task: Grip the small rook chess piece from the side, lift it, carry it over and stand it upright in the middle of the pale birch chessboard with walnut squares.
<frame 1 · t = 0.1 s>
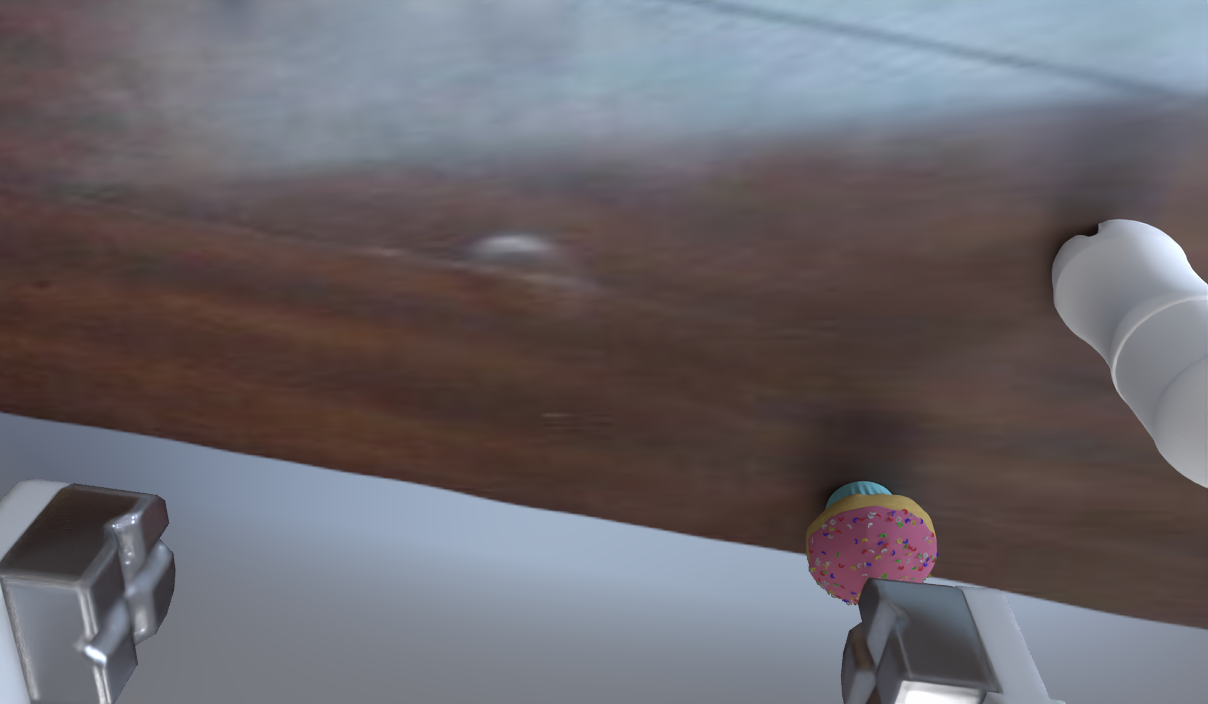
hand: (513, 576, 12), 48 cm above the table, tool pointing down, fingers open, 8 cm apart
water bottle: (1099, 261, 61), on the table
cupcake: (858, 504, 71), on the table
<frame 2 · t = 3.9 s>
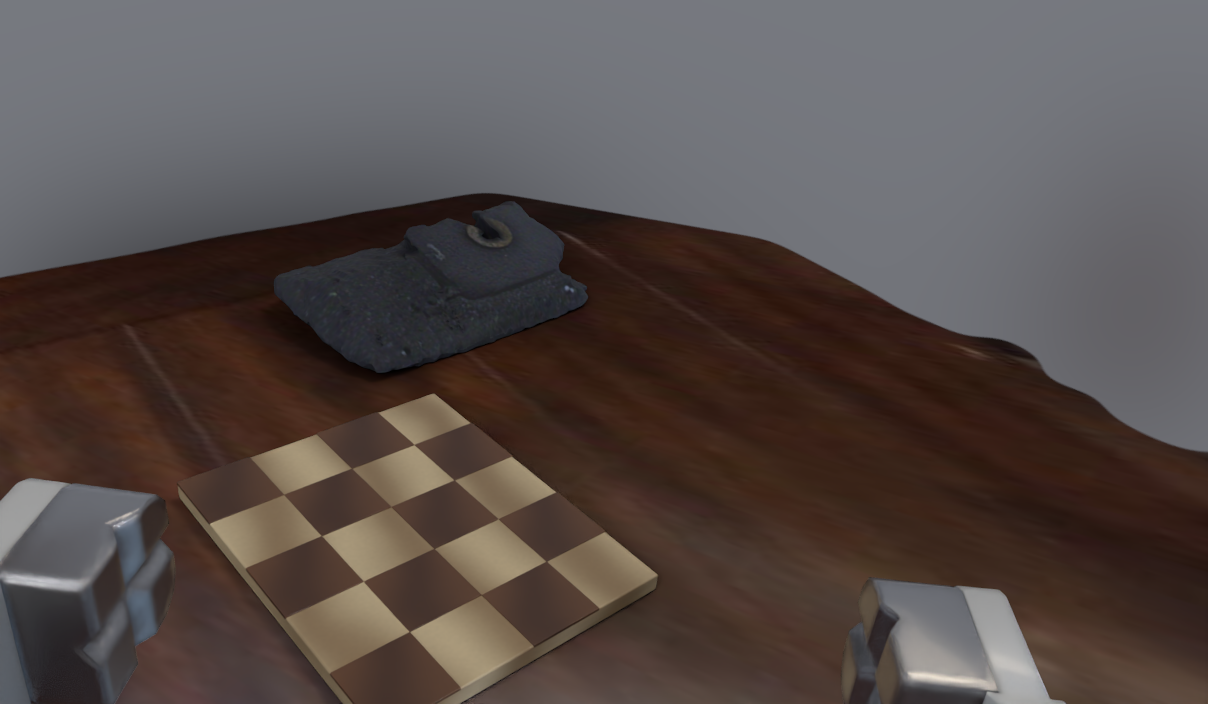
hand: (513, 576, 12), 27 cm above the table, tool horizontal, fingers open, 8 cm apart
chessboard: (412, 542, 53), on the table
dark slate chunk: (433, 301, 76), on the table
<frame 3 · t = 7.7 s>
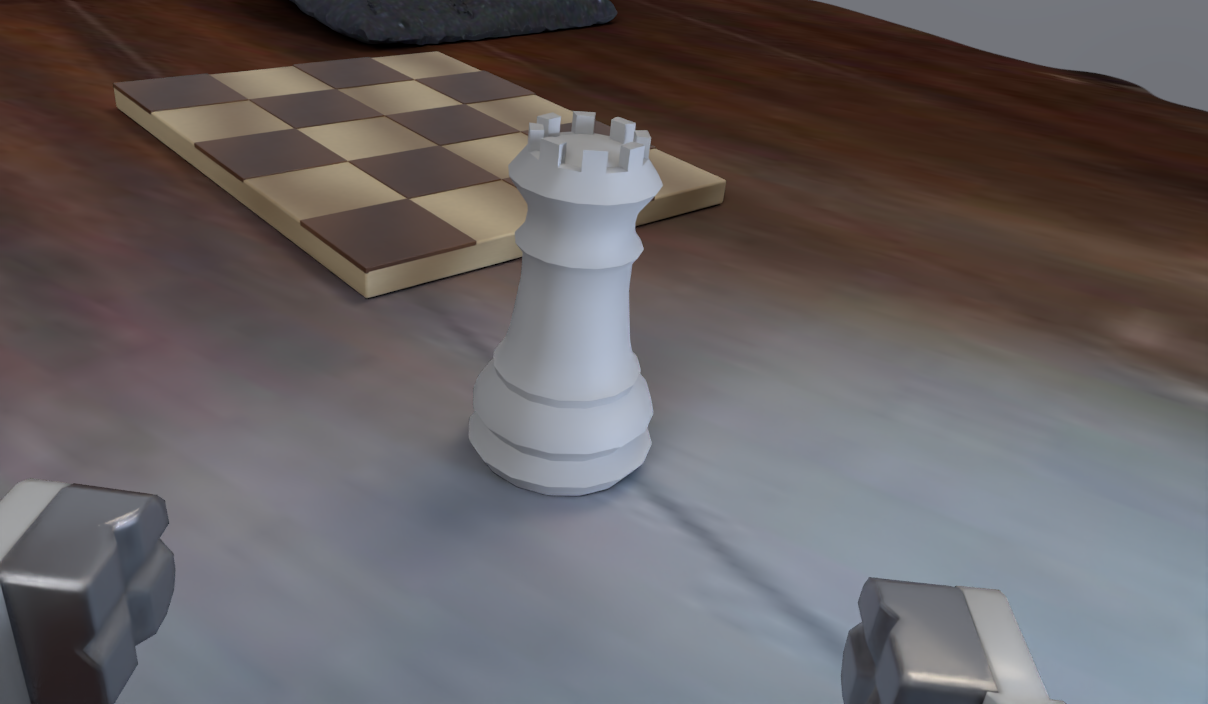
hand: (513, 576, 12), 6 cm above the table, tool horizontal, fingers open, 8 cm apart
chessboard: (411, 154, 41), on the table
rook chess piece: (557, 454, 25), on the table
dark slate chunk: (436, 11, 65), on the table
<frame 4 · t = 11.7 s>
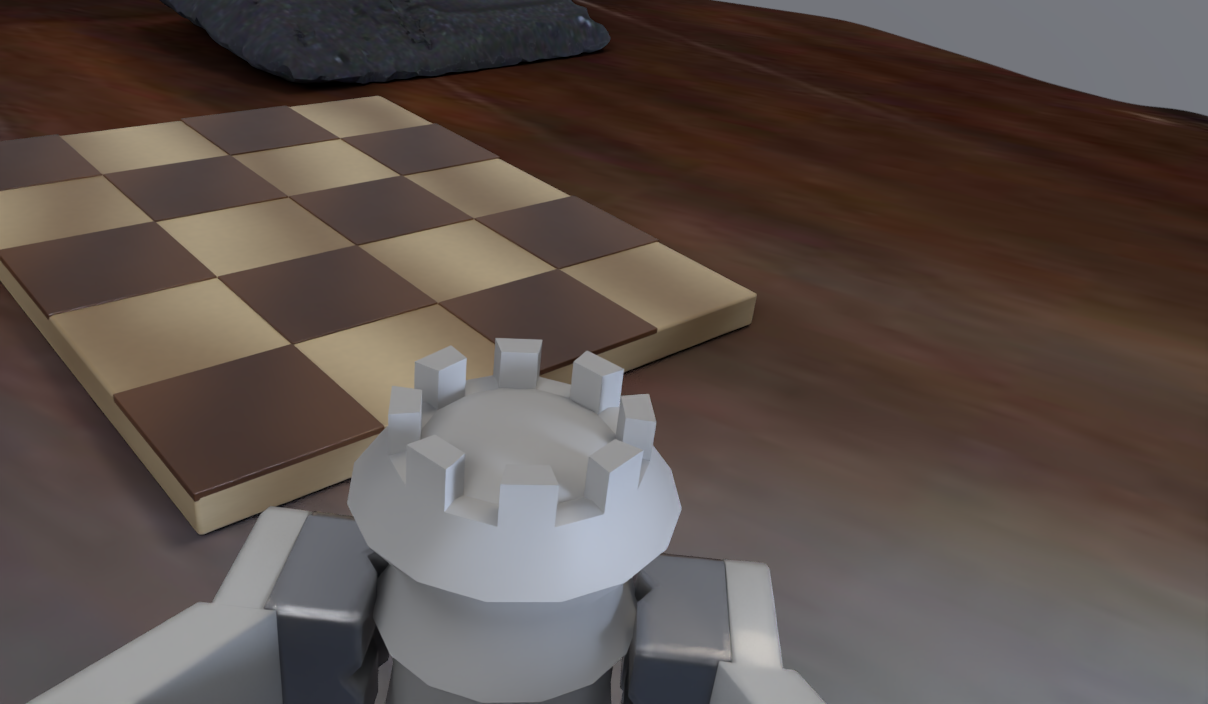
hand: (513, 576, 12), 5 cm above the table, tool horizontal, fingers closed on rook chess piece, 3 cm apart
chessboard: (322, 251, 30), on the table
dark slate chunk: (391, 36, 53), on the table
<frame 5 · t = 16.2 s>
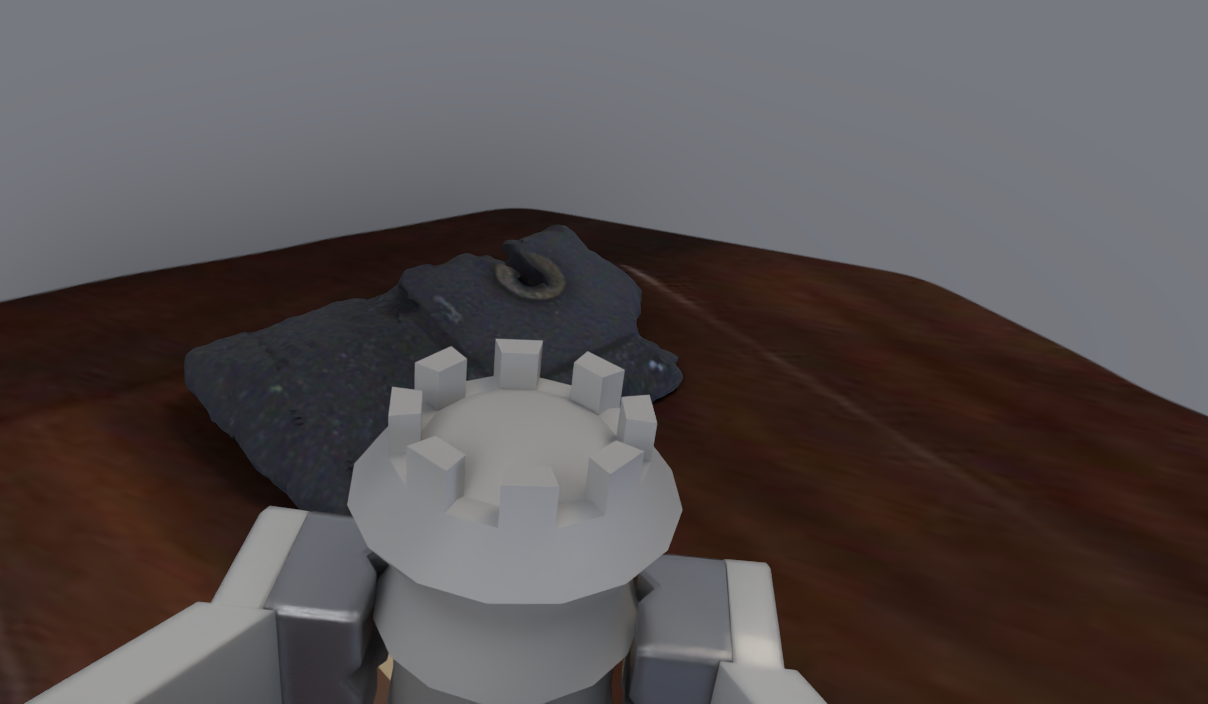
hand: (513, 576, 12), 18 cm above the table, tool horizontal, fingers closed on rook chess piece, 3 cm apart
dark slate chunk: (443, 383, 48), on the table
when the fingers open (6 cm above the table, at t = 20.6 s): rook chess piece stays where it is, resting on chessboard.
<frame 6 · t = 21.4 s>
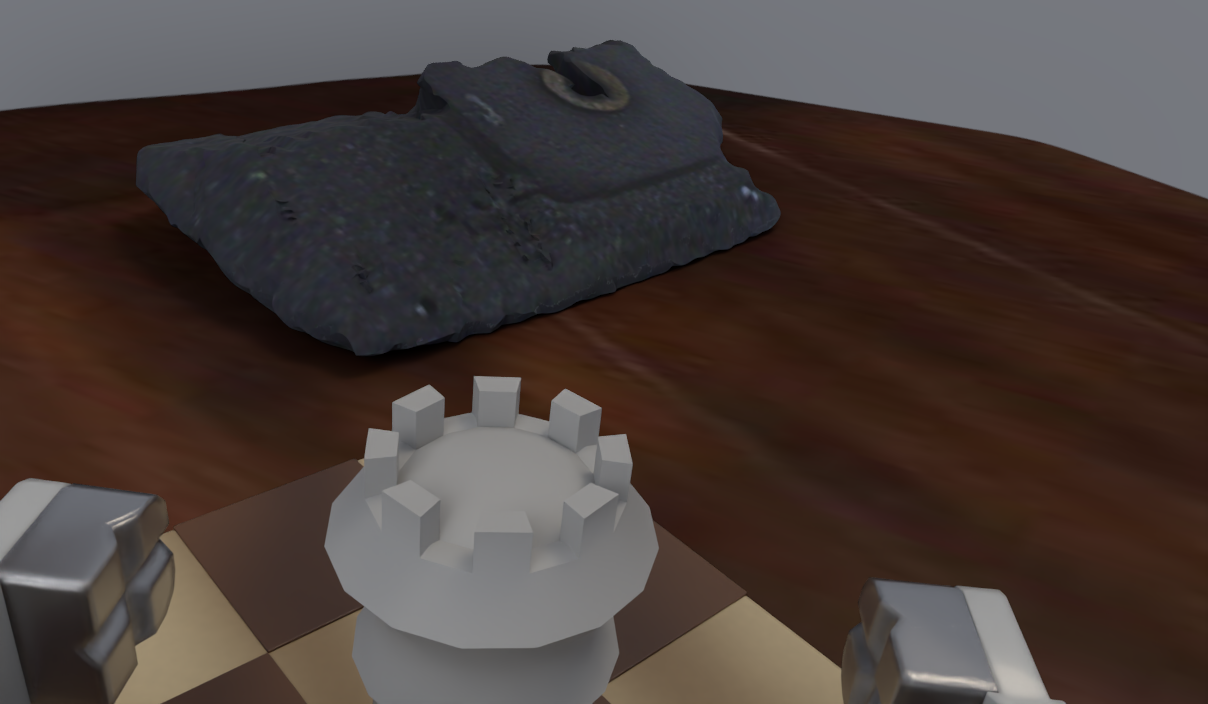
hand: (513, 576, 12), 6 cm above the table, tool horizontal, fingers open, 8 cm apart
dark slate chunk: (475, 216, 38), on the table
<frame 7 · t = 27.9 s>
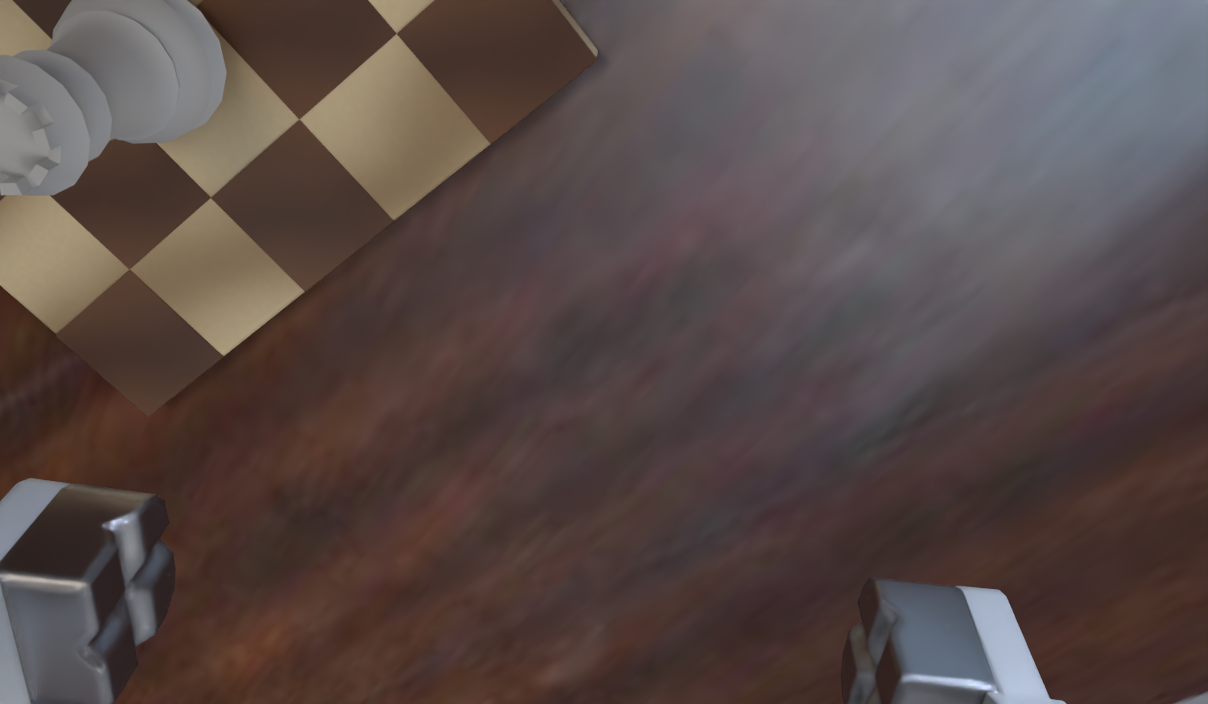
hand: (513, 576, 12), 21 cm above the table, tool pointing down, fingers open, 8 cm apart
chessboard: (165, 44, 30), on the table
rook chess piece: (158, 54, 29), point 1 cm above the table, touching chessboard
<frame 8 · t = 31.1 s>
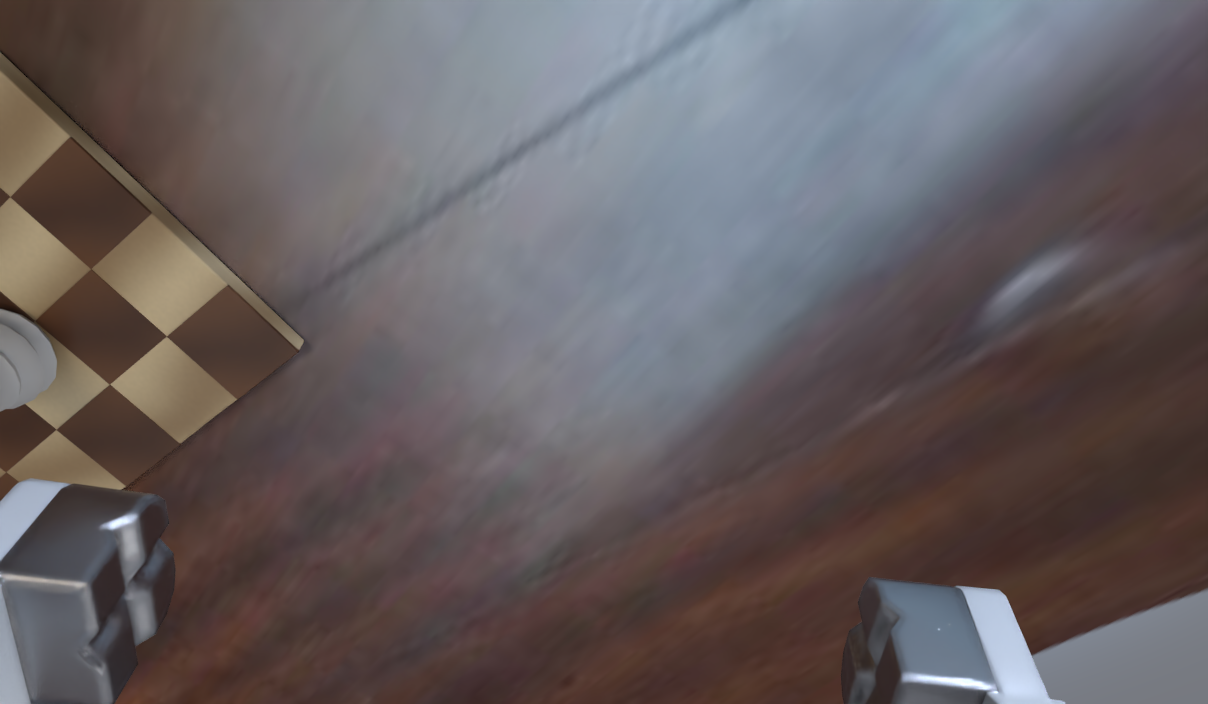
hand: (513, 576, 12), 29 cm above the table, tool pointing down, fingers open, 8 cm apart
chessboard: (20, 334, 45), on the table
rook chess piece: (13, 345, 44), point 1 cm above the table, touching chessboard
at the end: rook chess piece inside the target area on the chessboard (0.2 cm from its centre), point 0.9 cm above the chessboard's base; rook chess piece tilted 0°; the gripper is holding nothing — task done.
